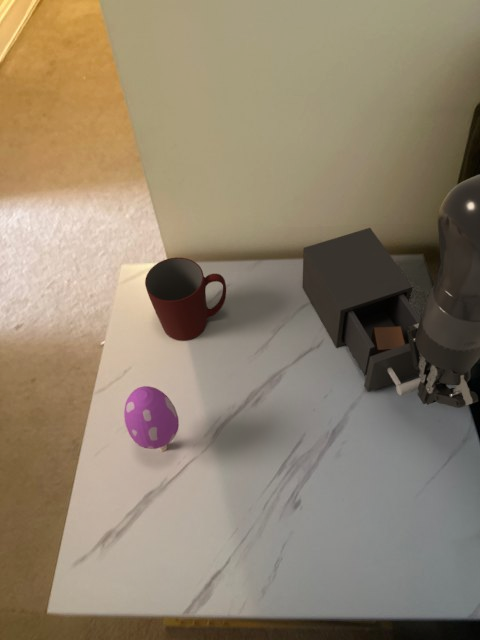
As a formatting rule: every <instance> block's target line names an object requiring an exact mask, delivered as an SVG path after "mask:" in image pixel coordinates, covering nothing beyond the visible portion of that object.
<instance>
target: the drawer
mask: <svg viewBox="0 0 480 640" xmlns="http://www.w3.org/2000/svg"><path fill="white" fill-rule="evenodd" d="M420 319H421V317H420V315H419V313H418V312H417V311H416V309H415V308H414V306H413V305H412V304H411V303H410V300H409V301H408V300H407V298H406V297H405V295H404V294H403V293H402V294H399V295H396V296H393V297H390V298H387V299H384V300H381V301H378V302H374V303H371V304H368V305H365V306H362V307H359V308H356V309H353V310H350V311H347V312H345V316H344V324H343V332H342V338H343V339H344V341H345V343H346V345H345V346H346V347H347V348H348V350H349V352H350V353H351V355H352V358H354V360H355V362H356V364H357V366H358V368H359V369H360V371H361V373H362V375H363V376H364V377H365V379H364V385H363V386H364V388H365V390H366V392H367V393H369V392H372V391H375V390H378V389H381V388H383V387H386V386H389V385H392V384H395V390H396V392H397V394H398V396H404V395H406V394H408V393H412V392H415V391H419V390H418V386H419V383H420V378H419V377H417V378H414V379H412V380H409V381H406V382H403V383H402V382H401V381H403V380H407V379H409V378H412V377H415V376H417V375H418V376H419V374H420V370H419V369H417V370H416V369H415V367H414V365H413V361H412V355H411V350H410V345H409V340H408V335H407V327H409V326H412V325H415V324H418V323H420ZM398 326H401V329H402V333H403V338H404V343H405V345H403V346H400V347H397V348H394V349H391V350H388V351H385V352H382V353H379V354H376V355H373V354H374V349H375V346H374V344H373V343H372V341H371V339H372V334H373V329H374V327H398ZM419 358H420V352H419Z"/></svg>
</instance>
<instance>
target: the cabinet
mask: <svg viewBox="0 0 480 640" xmlns="http://www.w3.org/2000/svg"><path fill="white" fill-rule="evenodd" d="M302 249H303V251H302V255H303V256H302V286H301V287H302V289H303V291H304V293H305V295H306V296H307V298H308V300H309V303H310V304H311V306H312V307H313V309H314V311H315V313H316V314H317V317H318V318H319V320H320V321H321V324H322V325H323V327H324V328H325V331H326V332H327V334H328V336H329V338H330V340H331V341H332V343H333V345H334V347H335V348H336V349H338V348H341V347H344V346H347V345H346V343H345V341H344V339H343V338H342V332H343V324H344V316H345V312H347V311H350V310H353V309H356V308H359V307H362V306H365V305H368V304H371V303H374V302H378V301H381V300H384V299H387V298H390V297H393V296H396V295H399V294H402V293H403V294H404V295H405V297H406V298H407V300H408V301H409V302H410V300H411V295H412V291H413V288H414V286H413V284H411V282H410V281H409V279H408V277H407V276H406V275H405V274H404V272H403V270H401V268H400V267H399V266H398V264H397V262H396V261H395V259H394V258H393V257H392V256H391V254H390V253H389V252H388V250H387V249H386V247H385V246H384V245H383V244H382V242H381V241H380V239H379V238H378V237H377V235H376V233H375V232H374V231H373V230H372V228H371V227H367V228H364V229H360V230H357V231H354V232H351V233H348V234H344V235H341V236H338V237H334V238H332V239H328V240H325V241H321V242H318V243H315V244H311V245H309V246H305V247H303V248H302Z"/></svg>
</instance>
